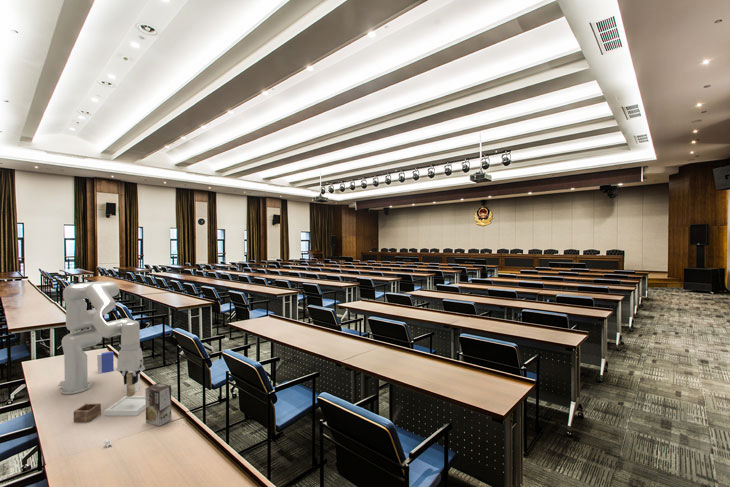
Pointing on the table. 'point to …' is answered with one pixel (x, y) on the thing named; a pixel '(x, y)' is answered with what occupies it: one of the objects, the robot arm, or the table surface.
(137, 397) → the tray
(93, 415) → the square wooden box
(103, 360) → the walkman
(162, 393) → the coffee box
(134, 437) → the table surface
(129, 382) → the dowel
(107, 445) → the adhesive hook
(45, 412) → the table surface
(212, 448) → the table surface
